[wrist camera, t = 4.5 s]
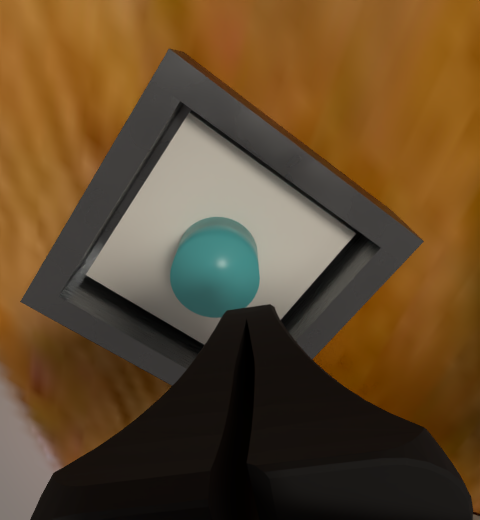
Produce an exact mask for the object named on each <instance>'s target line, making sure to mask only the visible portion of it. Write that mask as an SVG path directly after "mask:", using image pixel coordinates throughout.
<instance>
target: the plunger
mask: <svg viewBox="0 0 480 520" xmlns="http://www.w3.org/2000/svg"><path fill="white" fill-rule="evenodd" d="M355 234H356V233H355V232H354V230H353V229H352V227H351V226H350V225H348V224H347V223H346V222H344V221H343V220H342V219H340V218H339V217H338V216H336V215H335V214H333V213H332V212H331V211H329V210H328V209H327V208H325V207H324V206H322V205H321V204H320V203H318V202H317V201H316V200H314V199H313V198H311V197H310V196H309V195H307V194H306V193H305V192H303V191H302V190H301V189H299V188H298V187H296V186H295V185H294V184H292V183H291V182H290V181H288V180H287V179H285V178H284V177H283V176H281V175H280V174H279V173H277V172H276V171H274V170H273V169H272V168H270V167H269V166H268V165H266V164H265V163H264V162H262V161H261V160H259V159H258V158H257V157H255V156H254V155H253V154H251V153H250V152H248V151H247V150H246V149H244V148H243V147H242V146H240V145H239V144H237V143H236V142H235V141H233V140H232V139H231V138H229V137H228V136H227V135H225V134H224V133H222V132H221V131H220V130H218V129H217V128H216V127H214V126H213V125H211V124H210V123H209V122H207V121H206V120H205V119H203V118H202V117H200V116H199V115H198V114H196V113H195V112H194V111H192V110H191V111H190V112H189V114H188V115H187V117H186V118H185V120H184V121H183V123H182V125H181V126H180V128H179V129H178V131H177V132H176V134H175V136H174V137H173V139H172V140H171V142H170V143H169V145H168V147H167V148H166V150H165V151H164V153H163V154H162V156H161V157H160V159H159V161H158V162H157V164H156V165H155V167H154V168H153V170H152V172H151V173H150V175H149V176H148V178H147V179H146V181H145V183H144V184H143V186H142V187H141V189H140V190H139V192H138V194H137V195H136V197H135V198H134V200H133V201H132V203H131V204H130V206H129V208H128V209H127V211H126V212H125V214H124V215H123V217H122V219H121V220H120V222H119V223H118V225H117V226H116V228H115V230H114V231H113V233H112V234H111V236H110V237H109V239H108V241H107V242H106V244H105V245H104V247H103V248H102V250H101V251H100V253H99V255H98V256H97V258H96V259H95V261H94V262H93V264H92V266H91V267H90V269H89V270H88V272H87V273H86V275H87V276H88V277H90V278H92V279H93V280H95V281H97V282H99V283H100V284H102V285H104V286H105V287H107V288H109V289H110V290H112V291H114V292H116V293H117V294H119V295H121V296H122V297H124V298H126V299H127V300H129V301H131V302H133V303H134V304H136V305H138V306H139V307H141V308H143V309H144V310H146V311H148V312H149V313H151V314H153V315H155V316H156V317H158V318H160V319H161V320H163V321H165V322H166V323H168V324H170V325H172V326H173V327H175V328H177V329H178V330H180V331H182V332H183V333H185V334H187V335H189V336H190V337H192V338H194V339H195V340H197V341H199V342H200V343H202V344H204V345H205V343H206V342H207V341H208V339H209V337H210V336H211V334H212V333H213V331H214V329H215V328H216V326H217V324H218V323H219V321H220V319H221V317H222V316H223V314H224V313H225V312H226V310H233V309H240V308H247V307H254V306H261V305H268V304H271V305H272V306H274V307H275V310H276V312H277V315H278V317H279V318H280V320H281V319H282V318H283V317H284V315H285V314H286V313H287V312H288V311H289V310H290V309H291V307H292V306H293V305H294V304H295V303H296V302H297V301H298V299H299V298H300V297H301V296H302V295H303V294H304V293H305V291H306V290H307V289H308V288H309V287H310V286H311V285H312V283H313V282H314V281H315V280H316V279H317V278H318V277H319V275H320V274H321V273H322V272H323V271H324V270H325V269H326V267H327V266H328V265H329V264H330V263H331V262H332V260H333V259H334V258H335V257H336V256H337V255H338V254H339V252H340V251H341V250H342V249H343V248H344V247H345V246H346V244H347V243H348V242H349V241H350V240H351V239H352V238H353V236H354V235H355Z"/></svg>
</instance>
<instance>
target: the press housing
mask: <svg viewBox="0 0 480 520" xmlns="http://www.w3.org/2000/svg"><path fill="white" fill-rule="evenodd" d="M191 110H192V111H194V112H195V113H196V114H198V115H199V116H200V117H202V118H203V119H205V120H206V121H207V122H209V123H210V124H211V125H213V126H214V127H216V128H217V129H218V130H220V131H221V132H222V133H224V134H225V135H227V136H228V137H229V138H231V139H232V140H233V141H235V142H236V143H237V144H239V145H240V146H242V147H243V148H244V149H246V150H247V151H248V152H250V153H251V154H253V155H254V156H255V157H257V158H258V159H259V160H261V161H262V162H264V163H265V164H266V165H268V166H269V167H270V168H272V169H273V170H274V171H276V172H277V173H279V174H280V175H281V176H283V177H284V178H285V179H287V180H288V181H290V182H291V183H292V184H294V185H295V186H296V187H298V188H299V189H301V190H302V191H303V192H305V193H306V194H307V195H309V196H310V197H311V198H313V199H314V200H316V201H317V202H318V203H320V204H321V205H322V206H324V207H325V208H327V209H328V210H329V211H331V212H332V213H333V214H335V215H336V216H338V217H339V218H340V219H342V220H343V221H344V222H346V223H347V224H348V225H350V226H351V227H352V229H353V230H354V232H355V233H356V234H355V235H354V236H353V238H352V239H351V240H350V241H349V242H348V243H347V244H346V246H345V247H344V248H343V249H342V250H341V251H340V252H339V254H338V255H337V256H336V257H335V258H334V259H333V260H332V262H331V263H330V264H329V265H328V266H327V267H326V269H325V270H324V271H323V272H322V273H321V274H320V275H319V277H318V278H317V279H316V280H315V281H314V282H313V283H312V285H311V286H310V287H309V288H308V289H307V290H306V291H305V293H304V294H303V295H302V296H301V297H300V298H299V299H298V301H297V302H296V303H295V304H294V305H293V306H292V307H291V309H290V310H289V311H288V312H287V313H286V314H285V315H284V317H283V318H282V319H281V322H282V323H283V325H284V326H285V328H286V329H287V331H288V332H289V333H290V335H291V336H292V337H293V338H294V340H295V341H296V342H297V344H298V345H299V346H300V347H301V348H302V349H303V350H304V351H305V353H306V354H307V355H308V356H309V357H310V358H311V359H313V358H314V357H315V356H316V355H317V354H318V353H319V352H320V351H321V349H322V348H323V347H324V346H325V345H326V344H327V343H328V342H329V341H330V340H331V339H332V338H333V337H334V336H335V335H336V334H337V333H338V331H339V330H340V329H341V328H342V327H343V326H344V325H345V324H346V323H347V322H348V321H349V320H350V319H351V318H352V317H353V316H354V315H355V314H356V312H357V311H358V310H359V309H360V308H361V307H362V306H363V305H364V304H365V303H366V302H367V301H368V300H369V299H370V298H371V297H372V296H373V294H374V293H375V292H376V291H377V290H378V289H379V288H380V287H381V286H382V285H383V284H384V283H385V282H386V281H387V280H388V279H389V278H390V277H391V275H392V274H393V273H394V272H395V271H396V270H397V269H398V268H399V267H400V266H401V265H402V264H403V263H404V262H405V261H406V260H407V259H408V257H409V256H410V255H411V254H412V253H413V252H414V251H415V250H416V249H417V248H418V247H419V246H420V245H421V244H422V243H423V242H424V241H423V240H422V239H421V238H420V237H419V236H418V235H417V234H416V233H415V232H413V231H412V230H411V229H410V228H409V227H408V226H407V225H406V224H405V223H404V222H403V221H402V220H401V219H400V218H399V217H398V216H397V215H396V214H395V213H394V212H393V211H391V210H390V209H389V208H387V207H386V206H385V205H384V204H382V203H381V202H380V201H378V200H377V199H376V198H374V197H373V196H372V195H370V194H369V193H368V192H366V191H365V190H364V189H363V188H361V187H360V186H359V185H357V184H356V183H355V182H353V181H352V180H351V179H349V178H348V177H347V176H346V175H344V174H343V173H342V172H340V171H339V170H338V169H336V168H335V167H334V166H332V165H331V164H330V163H328V162H327V161H326V160H325V159H323V158H322V157H321V156H319V155H318V154H317V153H315V152H314V151H313V150H311V149H310V148H309V147H307V146H306V145H305V144H304V143H302V142H301V141H300V140H298V139H297V138H296V137H294V136H293V135H292V134H290V133H289V132H288V131H286V130H285V129H284V128H283V127H281V126H280V125H279V124H277V123H276V122H275V121H273V120H272V119H271V118H269V117H268V116H267V115H265V114H264V113H263V112H262V111H260V110H259V109H258V108H256V107H255V106H254V105H252V104H251V103H250V102H248V101H247V100H246V99H244V98H243V97H242V96H241V95H239V94H238V93H237V92H235V91H234V90H233V89H231V88H230V87H229V86H227V85H226V84H225V83H223V82H222V81H221V80H220V79H218V78H217V77H216V76H214V75H213V74H212V73H210V72H209V71H208V70H206V69H205V68H204V67H202V66H201V65H200V64H199V63H197V62H196V61H195V60H193V59H192V58H191V57H189V56H188V55H187V54H185V53H184V52H181V51H177V50H173V49H169V50H168V52H167V53H166V55H165V57H164V59H163V60H162V62H161V64H160V65H159V67H158V69H157V70H156V72H155V74H154V76H153V77H152V79H151V81H150V82H149V84H148V86H147V87H146V89H145V91H144V92H143V94H142V96H141V98H140V99H139V101H138V103H137V104H136V106H135V108H134V109H133V111H132V113H131V115H130V116H129V118H128V120H127V121H126V123H125V125H124V126H123V128H122V130H121V132H120V133H119V135H118V137H117V138H116V140H115V142H114V143H113V145H112V147H111V149H110V150H109V152H108V154H107V155H106V157H105V159H104V160H103V162H102V164H101V166H100V167H99V169H98V171H97V172H96V174H95V176H94V177H93V179H92V181H91V183H90V184H89V186H88V188H87V189H86V191H85V193H84V194H83V196H82V198H81V200H80V201H79V203H78V205H77V206H76V208H75V210H74V211H73V213H72V215H71V217H70V218H69V220H68V222H67V223H66V225H65V227H64V228H63V230H62V232H61V234H60V235H59V237H58V239H57V240H56V242H55V244H54V245H53V247H52V249H51V251H50V252H49V254H48V256H47V257H46V259H45V261H44V262H43V264H42V266H41V267H40V269H39V271H38V273H37V274H36V276H35V278H34V279H33V281H32V283H31V284H30V286H29V288H28V290H27V291H26V293H25V295H24V296H23V298H22V300H21V301H20V302H22V303H23V304H25V305H27V306H29V307H31V308H33V309H34V310H36V311H38V312H40V313H42V314H43V315H45V316H47V317H49V318H51V319H52V320H54V321H56V322H58V323H60V324H62V325H63V326H65V327H67V328H69V329H71V330H72V331H74V332H76V333H78V334H80V335H81V336H83V337H85V338H87V339H89V340H91V341H92V342H94V343H96V344H98V345H100V346H101V347H103V348H105V349H107V350H109V351H110V352H112V353H114V354H116V355H118V356H120V357H121V358H123V359H125V360H127V361H129V362H130V363H132V364H134V365H136V366H138V367H139V368H141V369H143V370H145V371H147V372H149V373H150V374H152V375H154V376H156V377H158V378H159V379H161V380H163V381H165V382H167V383H168V384H170V385H172V386H173V385H174V384H175V383H176V382H177V381H178V379H179V378H180V377H181V376H182V375H183V373H184V372H185V371H186V370H187V368H188V367H189V366H190V364H191V363H192V362H193V361H194V359H195V358H196V357H197V355H198V354H199V352H200V351H201V349H202V348H203V346H204V344H202V343H200V342H199V341H197V340H195V339H194V338H192V337H190V336H189V335H187V334H185V333H183V332H182V331H180V330H178V329H177V328H175V327H173V326H172V325H170V324H168V323H166V322H165V321H163V320H161V319H160V318H158V317H156V316H155V315H153V314H151V313H149V312H148V311H146V310H144V309H143V308H141V307H139V306H138V305H136V304H134V303H133V302H131V301H129V300H127V299H126V298H124V297H122V296H121V295H119V294H117V293H116V292H114V291H112V290H110V289H109V288H107V287H105V286H104V285H102V284H100V283H99V282H97V281H95V280H93V279H92V278H90V277H88V276H87V275H86V273H87V272H88V270H89V269H90V267H91V266H92V264H93V262H94V261H95V259H96V258H97V256H98V255H99V253H100V251H101V250H102V248H103V247H104V245H105V244H106V242H107V241H108V239H109V237H110V236H111V234H112V233H113V231H114V230H115V228H116V226H117V225H118V223H119V222H120V220H121V219H122V217H123V215H124V214H125V212H126V211H127V209H128V208H129V206H130V204H131V203H132V201H133V200H134V198H135V197H136V195H137V194H138V192H139V190H140V189H141V187H142V186H143V184H144V183H145V181H146V179H147V178H148V176H149V175H150V173H151V172H152V170H153V168H154V167H155V165H156V164H157V162H158V161H159V159H160V157H161V156H162V154H163V153H164V151H165V150H166V148H167V147H168V145H169V143H170V142H171V140H172V139H173V137H174V136H175V134H176V132H177V131H178V129H179V128H180V126H181V125H182V123H183V121H184V120H185V118H186V117H187V115H188V114H189V112H190V111H191Z"/></svg>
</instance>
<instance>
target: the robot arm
mask: <svg viewBox="0 0 480 520" xmlns="http://www.w3.org/2000/svg"><path fill="white" fill-rule="evenodd" d="M30 520H473V508H472V501H471V496H470V494H469V492H468V490H467V488H466V486H465V484H464V482H463V480H462V478H461V476H460V475H459V473H458V472H457V470H456V468H455V467H454V465H453V464H452V462H451V461H450V460H449V458H448V457H447V455H446V454H445V453H444V451H443V450H442V448H441V447H440V446H439V445H438V443H437V442H436V441H435V439H434V438H433V437H432V436H431V434H430V433H429V432H428V431H427V429H425V428H424V427H422V426H419V425H417V424H415V423H412V422H410V421H407V420H405V419H403V418H400V417H398V416H396V415H393V414H391V413H389V412H387V411H385V410H383V409H381V408H379V407H377V406H375V405H373V404H371V403H369V402H368V401H366V400H364V399H362V398H361V397H359V396H358V395H356V394H355V393H353V392H352V391H350V390H349V389H347V388H345V387H344V386H343V385H341V384H340V383H339V382H337V381H336V380H335V379H334V378H332V377H331V376H330V375H329V374H327V373H326V372H325V371H324V370H323V369H322V368H321V367H319V366H318V365H317V364H316V363H315V362H314V361H313V360H312V359H311V358H310V357H309V356H308V355H307V354H306V353H305V351H304V350H303V349H302V348H301V347H300V346H299V345H298V344H297V342H296V341H295V340H294V338H293V337H292V336H291V335H290V333H289V332H288V331H287V329H286V328H285V326H284V325H283V323H282V322H281V320H280V318H279V317H278V315H277V312H276V310H275V307H274V306H272V305H271V304H268V305H261V306H254V307H247V308H240V309H233V310H226V312H225V313H224V314H223V316H222V317H221V319H220V321H219V323H218V324H217V326H216V328H215V329H214V331H213V333H212V334H211V336H210V337H209V339H208V341H207V342H206V343H205V345H204V346H203V348H202V349H201V351H200V352H199V354H198V355H197V357H196V358H195V359H194V361H193V362H192V363H191V364H190V366H189V367H188V368H187V370H186V371H185V372H184V373H183V375H182V376H181V377H180V378H179V379H178V381H177V382H176V383H175V384H174V385H173V386H172V387H171V388H170V389H169V390H168V391H167V392H166V393H165V394H164V395H163V396H162V397H161V398H160V399H159V400H158V401H157V402H155V403H154V404H153V405H152V406H151V407H150V408H148V409H147V410H146V411H145V412H144V413H143V414H142V415H140V416H139V417H138V418H137V419H136V420H134V421H133V422H132V423H131V424H129V425H128V426H127V427H125V428H124V429H123V430H121V431H120V432H119V433H117V434H116V435H114V436H113V437H112V438H110V439H109V440H107V441H106V442H104V443H103V444H101V445H100V446H98V447H97V448H95V449H94V450H92V451H90V452H89V453H87V454H85V455H84V456H82V457H80V458H79V459H77V460H75V461H74V462H72V463H70V464H69V465H67V466H65V467H64V468H62V469H60V470H58V471H56V472H55V473H53V475H52V477H51V479H50V481H49V482H48V484H47V486H46V488H45V490H44V492H43V493H42V495H41V497H40V500H39V502H38V504H37V506H36V508H35V511H34V513H33V515H32V517H31V519H30Z"/></svg>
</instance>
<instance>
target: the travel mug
mask: <svg viewBox="0 0 480 520" xmlns="http://www.w3.org/2000/svg"><path fill="white" fill-rule="evenodd" d="M473 520H480V516H477V515H474V514H473Z"/></svg>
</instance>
